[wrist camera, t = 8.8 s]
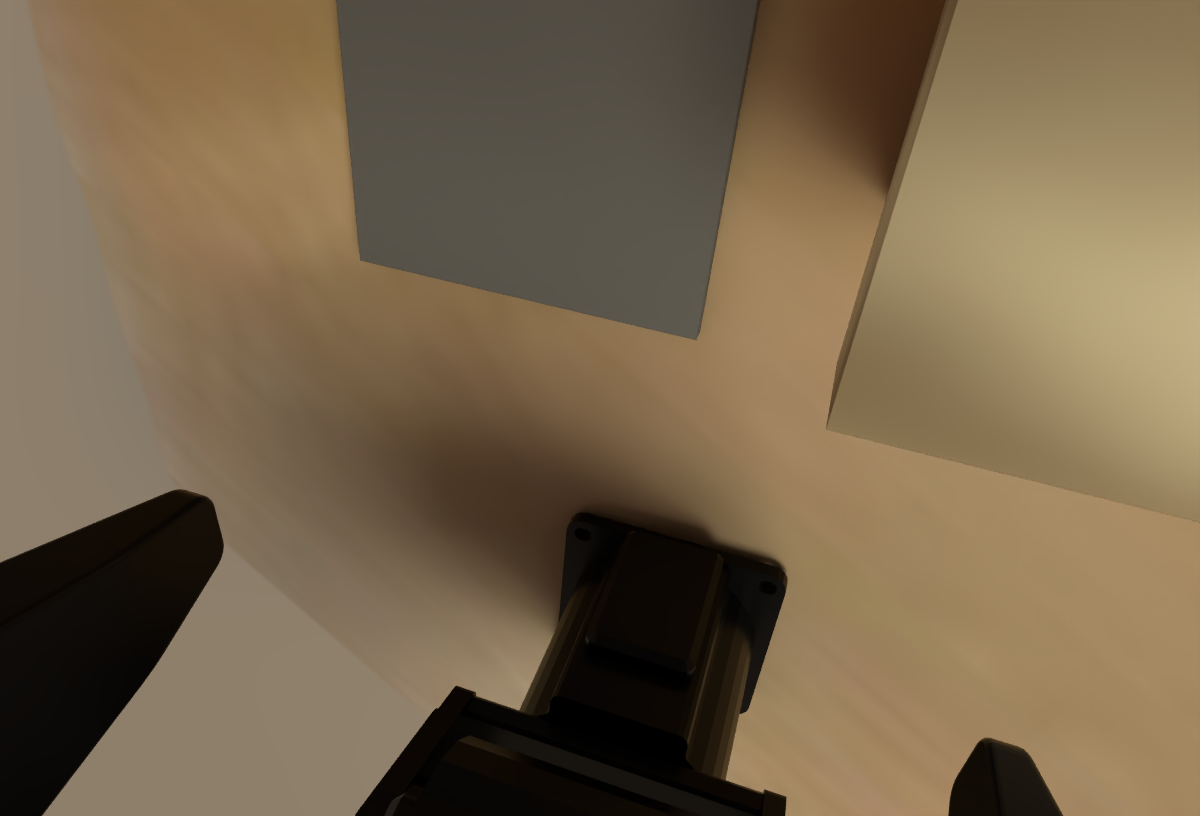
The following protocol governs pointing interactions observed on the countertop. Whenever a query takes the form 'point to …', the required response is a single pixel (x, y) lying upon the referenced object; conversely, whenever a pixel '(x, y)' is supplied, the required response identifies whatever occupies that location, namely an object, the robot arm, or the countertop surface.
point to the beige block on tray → (1043, 255)
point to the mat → (548, 145)
